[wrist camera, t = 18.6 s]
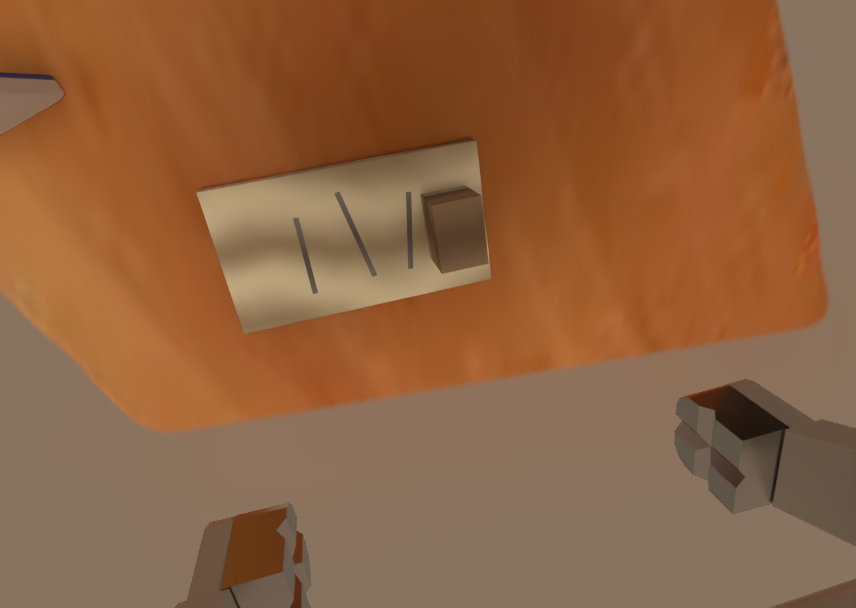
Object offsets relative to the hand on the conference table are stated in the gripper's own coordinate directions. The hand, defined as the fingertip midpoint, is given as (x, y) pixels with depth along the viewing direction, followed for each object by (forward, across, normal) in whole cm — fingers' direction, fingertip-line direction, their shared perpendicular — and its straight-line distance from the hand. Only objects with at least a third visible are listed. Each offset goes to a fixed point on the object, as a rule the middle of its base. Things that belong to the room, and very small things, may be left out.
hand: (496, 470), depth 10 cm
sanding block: (+30, -6, +3) cm, 30 cm away
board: (+31, +1, +3) cm, 31 cm away
